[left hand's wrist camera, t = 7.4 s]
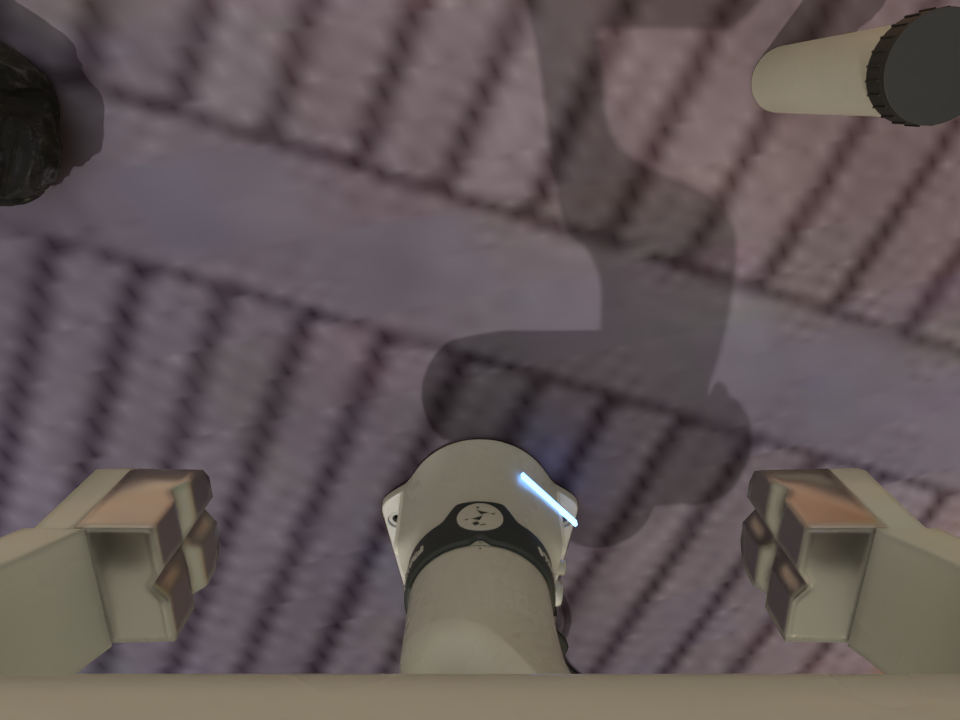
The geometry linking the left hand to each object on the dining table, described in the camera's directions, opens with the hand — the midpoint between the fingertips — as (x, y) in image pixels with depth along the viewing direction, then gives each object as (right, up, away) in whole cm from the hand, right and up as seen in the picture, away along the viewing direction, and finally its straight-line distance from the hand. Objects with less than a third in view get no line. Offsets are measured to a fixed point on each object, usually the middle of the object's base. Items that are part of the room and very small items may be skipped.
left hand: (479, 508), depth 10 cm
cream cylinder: (+23, +24, +42) cm, 54 cm away
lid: (+23, +17, +25) cm, 38 cm away
